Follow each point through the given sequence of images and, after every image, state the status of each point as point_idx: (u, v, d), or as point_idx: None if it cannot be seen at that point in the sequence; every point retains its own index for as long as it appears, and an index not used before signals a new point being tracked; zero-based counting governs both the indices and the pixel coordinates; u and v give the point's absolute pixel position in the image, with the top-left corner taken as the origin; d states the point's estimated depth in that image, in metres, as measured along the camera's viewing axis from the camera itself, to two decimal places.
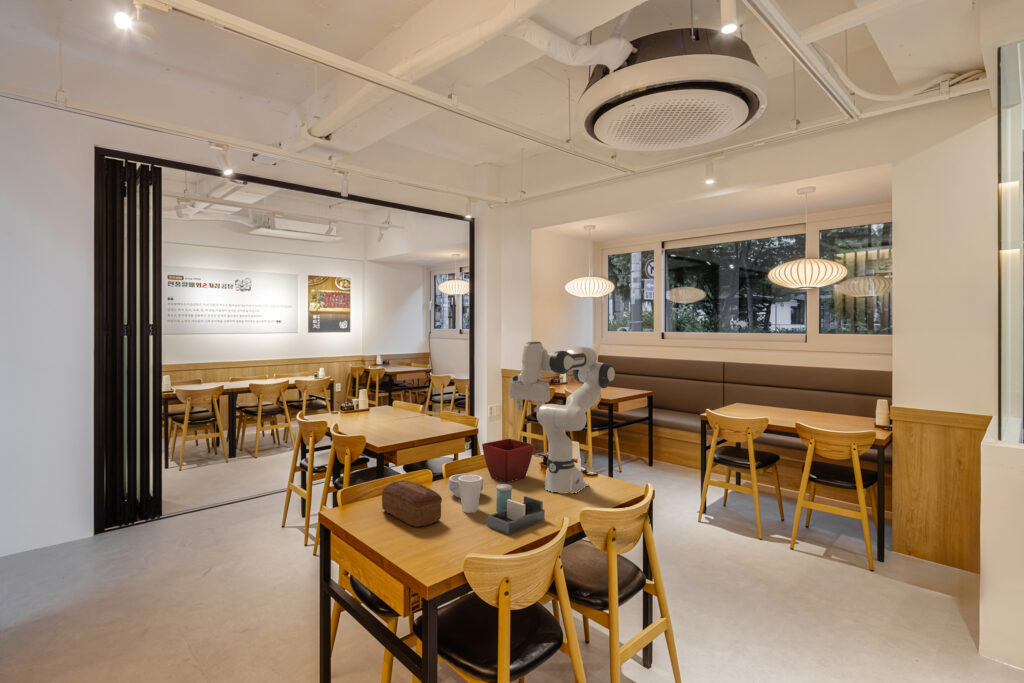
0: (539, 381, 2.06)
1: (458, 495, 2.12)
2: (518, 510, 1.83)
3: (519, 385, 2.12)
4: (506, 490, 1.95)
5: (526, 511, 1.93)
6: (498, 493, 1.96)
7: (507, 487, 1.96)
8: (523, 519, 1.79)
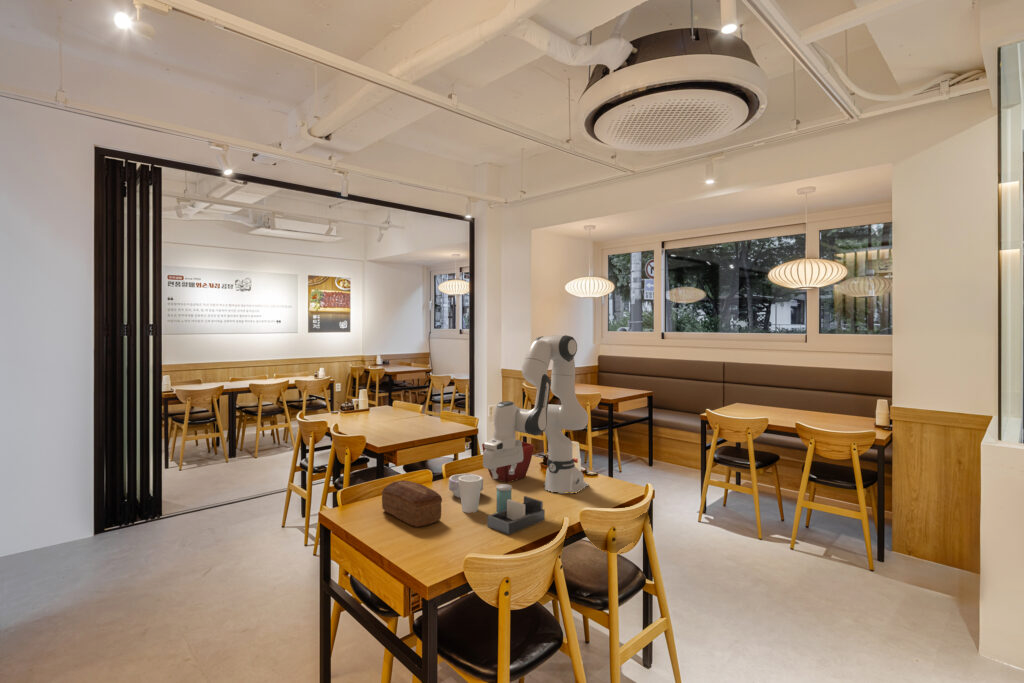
0: None
1: (458, 495, 2.12)
2: (518, 510, 1.83)
3: (499, 453, 1.93)
4: (506, 490, 1.95)
5: (526, 511, 1.93)
6: (498, 493, 1.96)
7: (507, 487, 1.96)
8: (523, 519, 1.79)
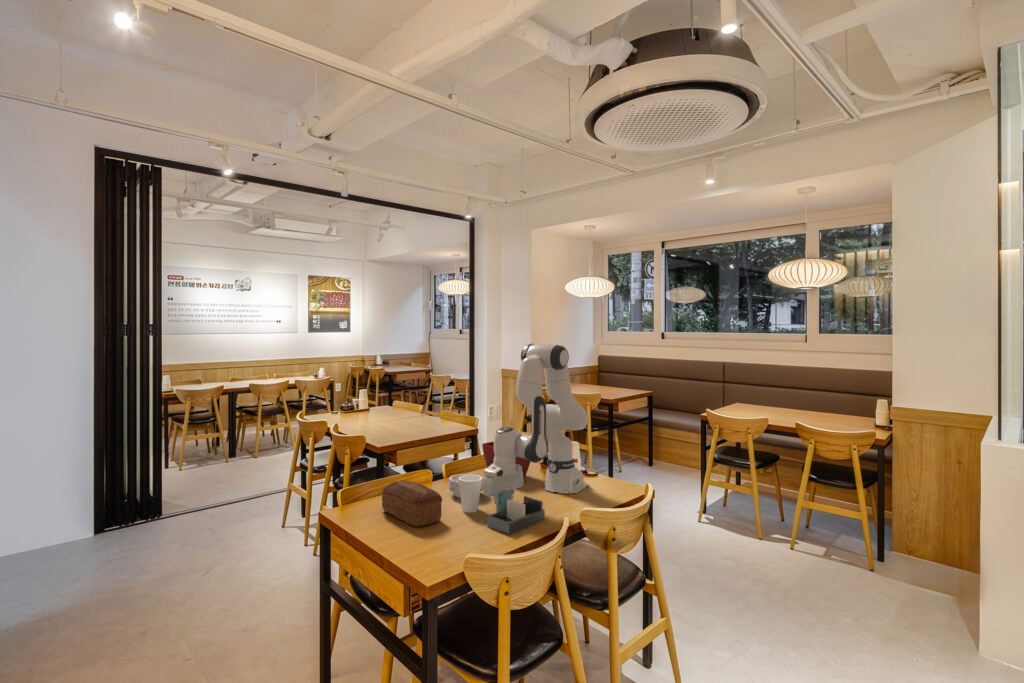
0: None
1: (458, 495, 2.12)
2: (518, 510, 1.83)
3: (500, 479, 1.93)
4: (506, 490, 1.95)
5: (526, 511, 1.93)
6: None
7: (507, 487, 1.96)
8: (523, 519, 1.79)
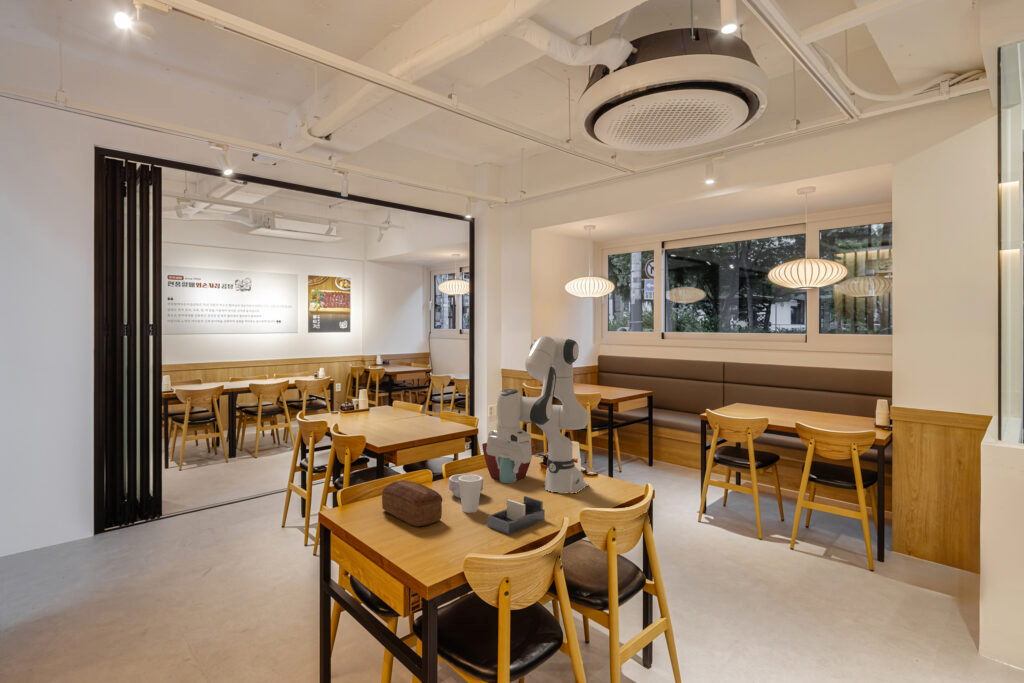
0: None
1: (458, 495, 2.12)
2: (518, 510, 1.83)
3: None
4: None
5: (526, 511, 1.93)
6: (513, 461, 1.79)
7: None
8: (523, 519, 1.79)
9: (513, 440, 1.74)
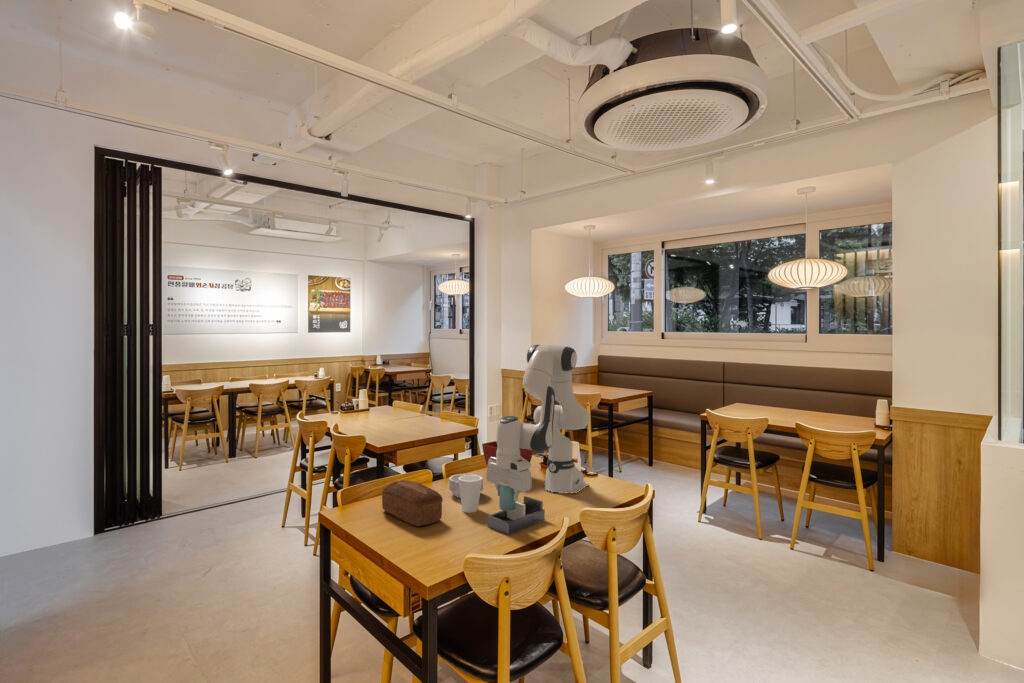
0: None
1: (458, 495, 2.12)
2: (518, 510, 1.83)
3: None
4: None
5: (526, 511, 1.93)
6: None
7: None
8: (523, 519, 1.79)
9: (513, 468, 1.74)
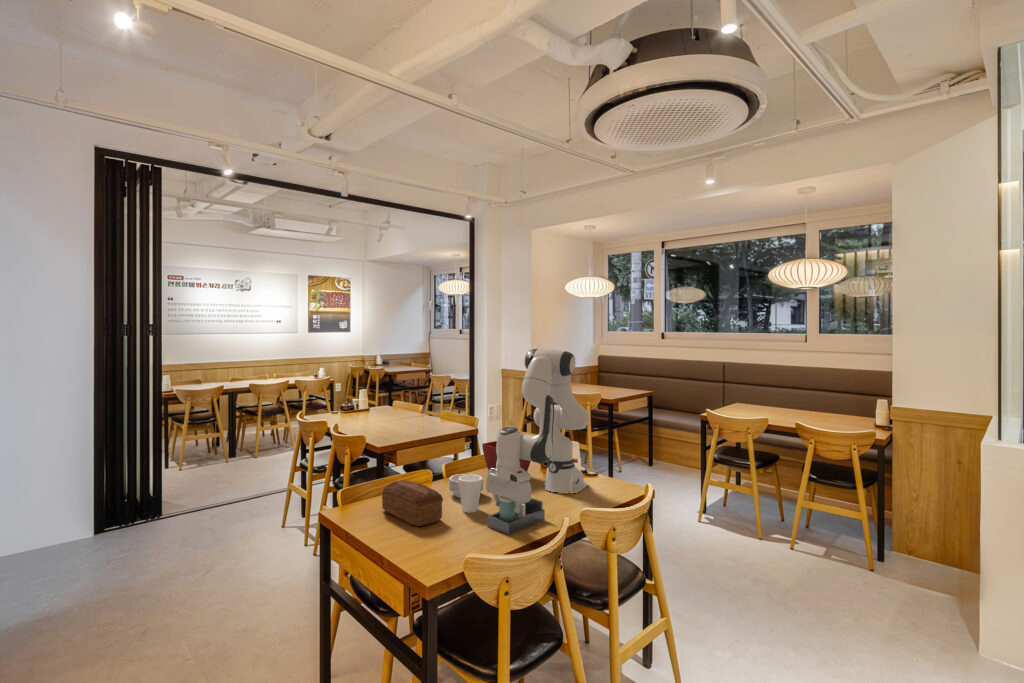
0: None
1: (458, 495, 2.12)
2: None
3: None
4: None
5: (526, 511, 1.93)
6: (512, 505, 1.79)
7: None
8: (523, 519, 1.79)
9: (513, 480, 1.75)
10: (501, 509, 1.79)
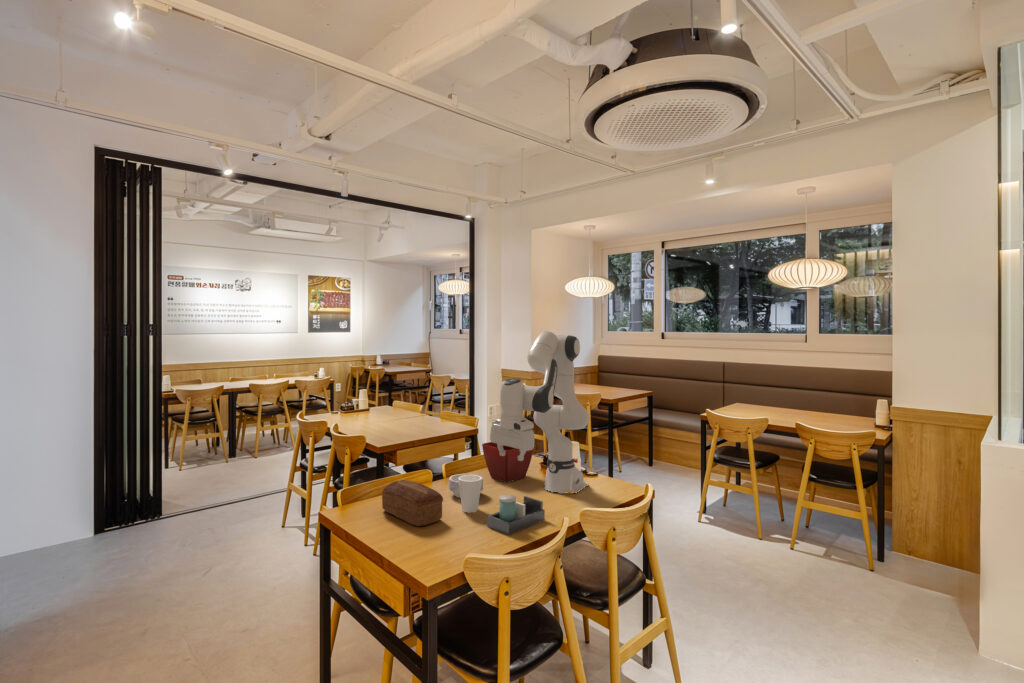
0: None
1: (458, 495, 2.12)
2: (518, 510, 1.83)
3: None
4: None
5: (526, 511, 1.93)
6: (512, 505, 1.79)
7: (511, 496, 1.82)
8: (523, 519, 1.79)
9: (516, 428, 1.79)
10: (501, 509, 1.79)
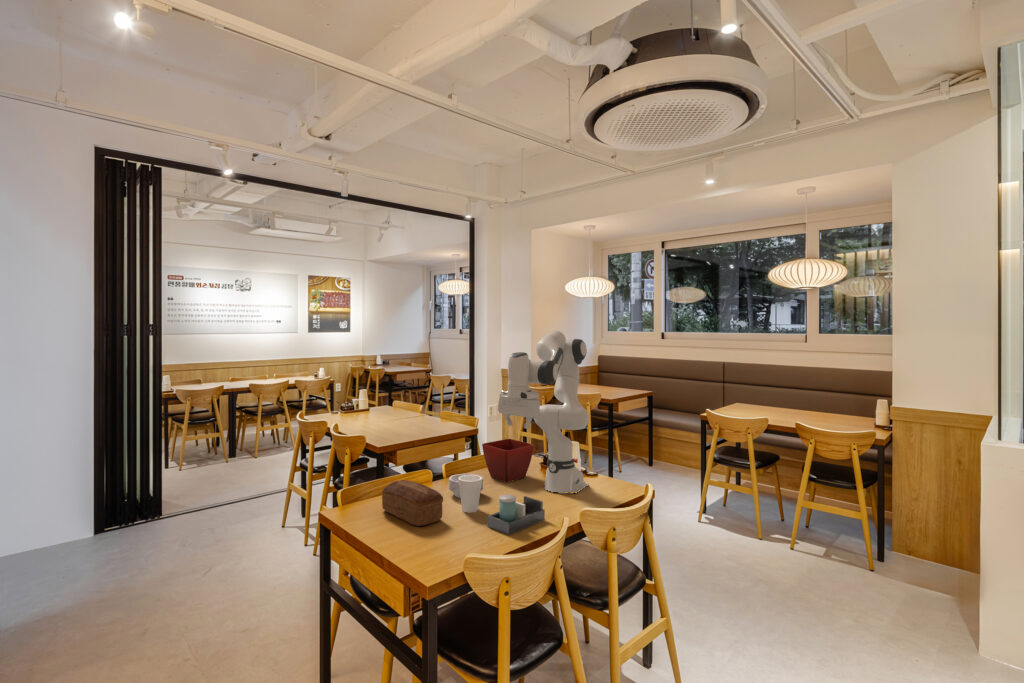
0: None
1: (458, 495, 2.12)
2: (518, 510, 1.83)
3: None
4: None
5: (526, 511, 1.93)
6: (512, 505, 1.79)
7: (511, 496, 1.82)
8: (523, 519, 1.79)
9: (523, 397, 1.91)
10: (501, 509, 1.79)
